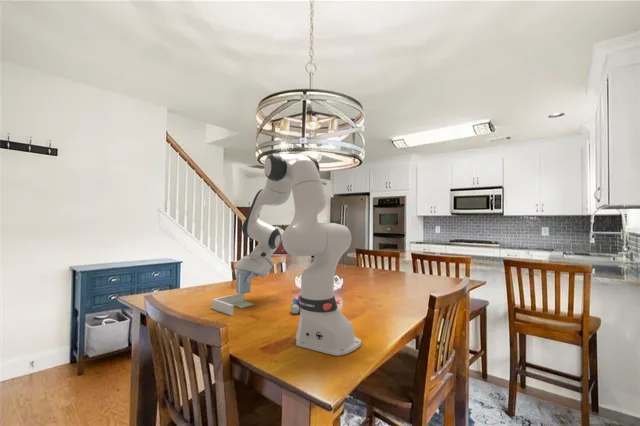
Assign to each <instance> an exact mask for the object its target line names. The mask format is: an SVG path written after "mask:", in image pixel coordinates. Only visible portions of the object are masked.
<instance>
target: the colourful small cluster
mask: <svg viewBox="0 0 640 426" xmlns="http://www.w3.org/2000/svg"><path fill="white" fill-rule="evenodd" d="M300 295H301V294H298V296H297V298H296V297H294V298H292V304H290V306H289V307H290V312H291V313H292V314H294V315H298V314H300V306H299V300H300Z"/></svg>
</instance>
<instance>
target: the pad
mask: <svg viewBox="0 0 640 426" xmlns="http://www.w3.org/2000/svg"><path fill="white" fill-rule="evenodd" d="M232 305H234V307H237V308H240V309H243V308H246V307H251V306H253V305H254V306H255V304H254V303H251V302H248V301H245V300H244V301H243V302H239V303H235V304H232Z"/></svg>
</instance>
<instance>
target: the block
mask: <svg viewBox="0 0 640 426" xmlns="http://www.w3.org/2000/svg"><path fill="white" fill-rule="evenodd" d="M250 275H251V272H250V271H245V270H242V271H237V270H236V275H235V276H236V279H235V280H236V282H235V283H236V284H235V290H236V291H235V293H236V294H238V293H240V294H244V295H245V294H248V293H251V280H250V282H249V283H247V282H246V281H245V279H246V277H249V276H250Z"/></svg>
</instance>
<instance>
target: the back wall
mask: <svg viewBox="0 0 640 426" xmlns="http://www.w3.org/2000/svg"><path fill="white" fill-rule="evenodd" d="M244 298H245V294H240V293H235V294H231V295H230V294H229V295H225V296H224V295H223V296H221V297H216V298H212V299H211V309H213V300H214V299H217V300H220V301H223V302H226V303H229V304H236V303H240V302H244V301H245V299H244ZM213 310H214V309H213Z"/></svg>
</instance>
